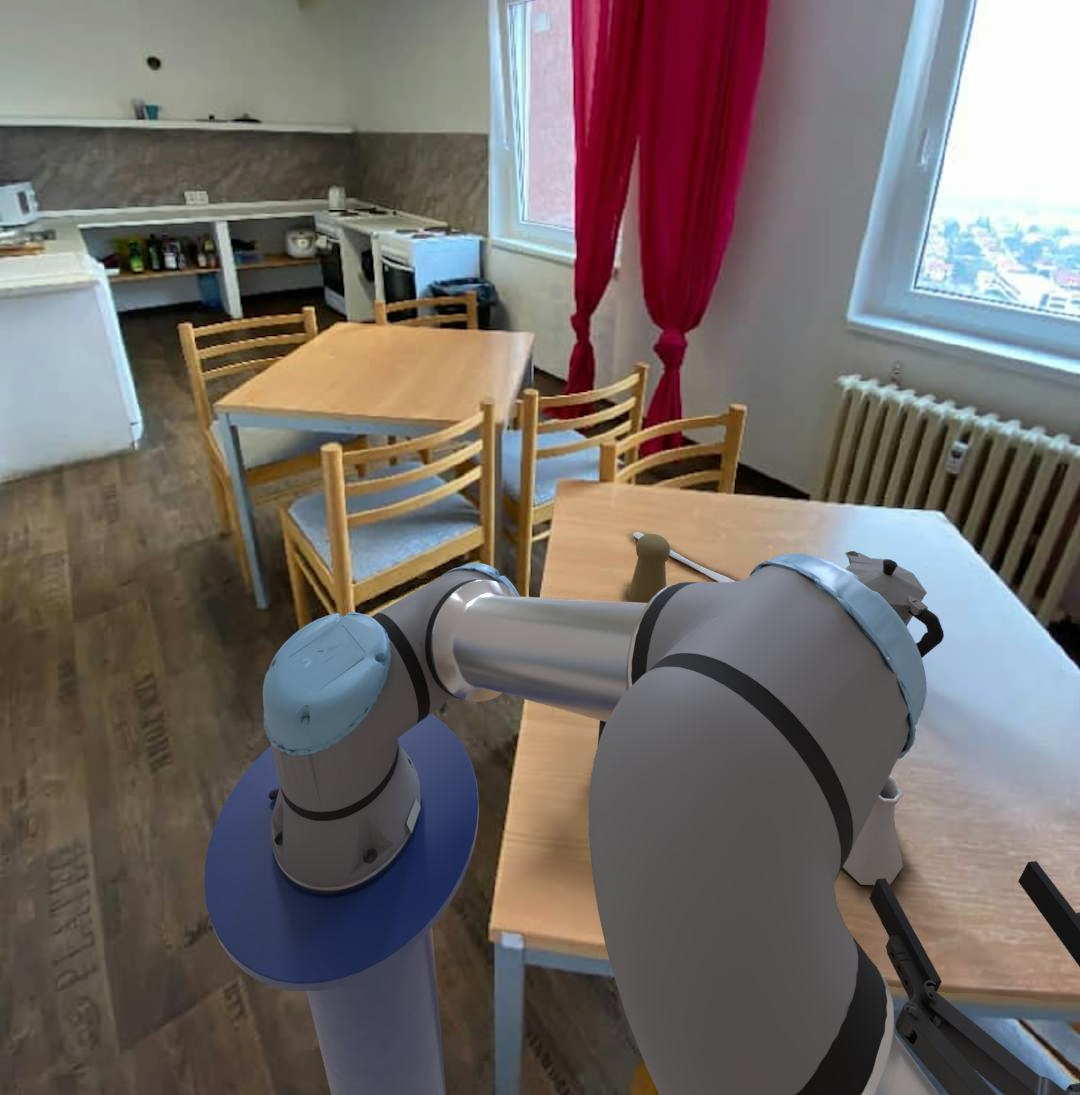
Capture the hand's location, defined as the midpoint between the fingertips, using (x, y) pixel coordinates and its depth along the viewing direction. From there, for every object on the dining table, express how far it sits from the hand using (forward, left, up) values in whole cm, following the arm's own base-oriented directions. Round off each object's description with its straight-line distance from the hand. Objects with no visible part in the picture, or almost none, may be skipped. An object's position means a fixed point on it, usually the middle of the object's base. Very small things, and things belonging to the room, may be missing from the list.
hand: (952, 879), depth 51 cm
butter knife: (-15, +49, -11) cm, 53 cm away
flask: (-2, +8, -12) cm, 15 cm away
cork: (-24, +41, -12) cm, 49 cm away
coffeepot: (+6, +32, -12) cm, 35 cm away
